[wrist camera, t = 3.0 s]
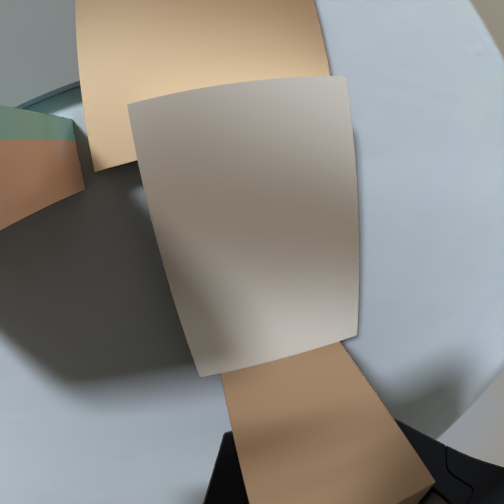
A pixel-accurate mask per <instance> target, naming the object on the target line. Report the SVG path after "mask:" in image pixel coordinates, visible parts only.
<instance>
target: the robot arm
mask: <svg viewBox="0 0 504 504" xmlns="http://www.w3.org/2000/svg"><path fill="white" fill-rule="evenodd" d="M393 419H394V420H395V422H396V423H397V425H398V426H399V428H400V429H401V431H402V432H403V434H404V435H405V437H406V438H407V440H408V441H409V443H410V444H411V445H412V447H413V448H414V450H415V451H416V453H417V454H418V456H419V457H420V459H421V460H422V462H423V463H424V465H425V466H426V468H427V469H428V471H429V472H430V474H431V475H432V477H433V478H434V480H435V481H436V482H435V483H434V484H433V486H432V487H431V488H430V489H429V491H428V492H427V493H426V494H425V495H424V497H423V498H422V499H421V500H420V501H419V503H418V504H504V467H501V466H497V465H494V464H491V463H488V462H484V461H481V460H479V459H475V458H473V457H470V456H468V455H465V454H463V453H461V452H459V451H457V450H455V449H452V448H450V447H448V446H446V447H445V445H444V444H442V443H440V442H438V441H436V440H434V439H432V438H430V437H429V436H427V435H425V434H423V433H421V432H419V431H417V430H415V429H413V428H411V427H410V426H408V425H406V424H404V423H402V422H400V421H398V420H397V419H395V418H393ZM203 504H250V503H249V499H248V495H247V491H246V487H245V483H244V479H243V475H242V471H241V467H240V463H239V458H238V454H237V450H236V445H235V441H234V436H233V432H232V431H229V432H225V433H224V435H223V439H222V442H221V445H220V449H219V452H218V456H217V459H216V462H215V466H214V469H213V472H212V476H211V479H210V482H209V486H208V489H207V492H206V496H205V499H204V502H203Z"/></svg>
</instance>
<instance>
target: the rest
mask: <svg viewBox="0 0 504 504" xmlns="http://www.w3.org/2000/svg"><path fill="white" fill-rule="evenodd" d="M75 11H76V39H77V54H78V66H79V76H80V86H81V94H82V102H83V109H84V116H85V123H86V129H87V135H88V140H89V146H90V151H91V157H92V162H93V167H94V171H95V172H96V171H100V170H104V169H107V168H111V167H114V166H118V165H122V164H125V163H129V162H133V161H137V155H136V150H135V145H134V140H133V135H132V130H131V124H130V119H129V113H128V107H127V104H131V103H134V102H138V101H142V100H146V99H151V98H155V97H159V96H164V95H168V94H173V93H178V92H183V91H188V90H193V89H199V88H205V87H211V86H217V85H224V84H231V83H239V82H247V81H256V80H266V79H277V78H291V77H310V76H330V71H329V65H328V60H327V55H326V50H325V46H324V41H323V36H322V32H321V28H320V23H319V19H318V15H317V11H316V7H315V3H314V0H75Z"/></svg>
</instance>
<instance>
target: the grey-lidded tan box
mask: <svg viewBox="0 0 504 504" xmlns="http://www.w3.org/2000/svg"><path fill="white" fill-rule="evenodd" d="M127 107H128V113H129V119H130V124H131V130H132V135H133V140H134V145H135V150H136V155H137V160H138V165H139V170H140V174H141V179H142V183H143V188H144V192H145V196H146V201H147V205H148V209H149V213H150V217H151V221H152V225H153V229H154V233H155V237H156V240H157V244H158V248H159V252H160V255H161V259H162V262H163V266H164V269H165V273H166V276H167V280H168V283H169V286H170V290H171V293H172V296H173V300H174V303H175V306H176V309H177V312H178V315H179V319H180V322H181V325H182V328H183V331H184V334H185V337H186V340H187V343H188V346H189V349H190V351H191V354H192V357H193V360H194V363H195V366H196V368H197V371H198V374H199V377H200V378H201V377H205V376H210V375H215V374H221V379H222V384H223V389H224V394H225V399H226V404H227V409H228V413H229V418H230V423H231V427H232V432H233V436H234V441H235V445H236V450H237V454H238V458H239V463H240V467H241V471H242V475H243V479H244V483H245V487H246V491H247V495H248V499H249V503H250V504H418V503H419V501H420V500H421V499H422V498H423V497H424V495H425V494H426V493H427V492H428V491H429V489H430V488H431V487H432V486H433V484H434V483H435V482H436V481H435V480H434V478H433V477H432V475H431V474H430V472H429V471H428V469H427V468H426V466H425V465H424V463H423V462H422V460H421V459H420V457H419V456H418V454H417V453H416V451H415V450H414V448H413V447H412V445H411V444H410V443H409V441H408V440H407V438H406V437H405V435H404V434H403V432H402V431H401V429H400V428H399V426H398V425H397V423H396V422H395V420H394V419H393V417H392V416H391V415H390V413H389V412H388V410H387V409H386V407H385V406H384V404H383V403H382V401H381V400H380V399H379V397H378V396H377V394H376V393H375V391H374V390H373V388H372V387H371V386H370V384H369V383H368V381H367V380H366V378H365V377H364V375H363V374H362V373H361V371H360V370H359V368H358V367H357V365H356V364H355V363H354V361H353V360H352V358H351V357H350V355H349V354H348V353H347V351H346V350H345V348H344V347H343V345H342V344H341V343H340V341H342V340H345V339H348V338H351V337H354V336H357V328H358V306H359V214H358V191H357V175H356V161H355V149H354V138H353V128H352V119H351V110H350V102H349V94H348V87H347V80H346V76H310V77H291V78H277V79H266V80H256V81H247V82H239V83H231V84H224V85H217V86H211V87H205V88H199V89H193V90H188V91H183V92H178V93H173V94H168V95H164V96H159V97H155V98H151V99H146V100H142V101H138V102H134V103H131V104H127Z"/></svg>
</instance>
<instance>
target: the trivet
mask: <svg viewBox="0 0 504 504" xmlns="http://www.w3.org/2000/svg"><path fill="white" fill-rule="evenodd" d="M77 86H80V76H79V66H78V54H77V39H76V11H75V0H0V105H1V106H7V107H13V108H19V109H23V108H25V107H27V106H30V105H32V104H34V103H37V102H39V101H41V100H44V99H46V98H48V97H51V96H53V95H56V94H59V93H61V92H64V91H66V90H69V89H72V88H75V87H77Z"/></svg>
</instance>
